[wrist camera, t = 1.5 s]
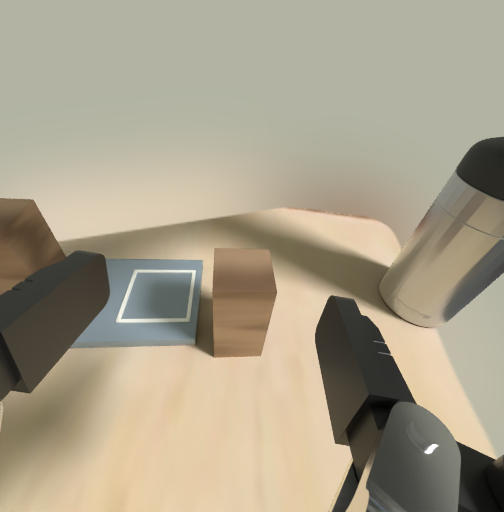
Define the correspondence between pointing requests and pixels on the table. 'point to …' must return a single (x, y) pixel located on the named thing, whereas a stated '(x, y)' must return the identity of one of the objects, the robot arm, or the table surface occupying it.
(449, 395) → the table surface
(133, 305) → the board
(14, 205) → the built pillar
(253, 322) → the pillar
